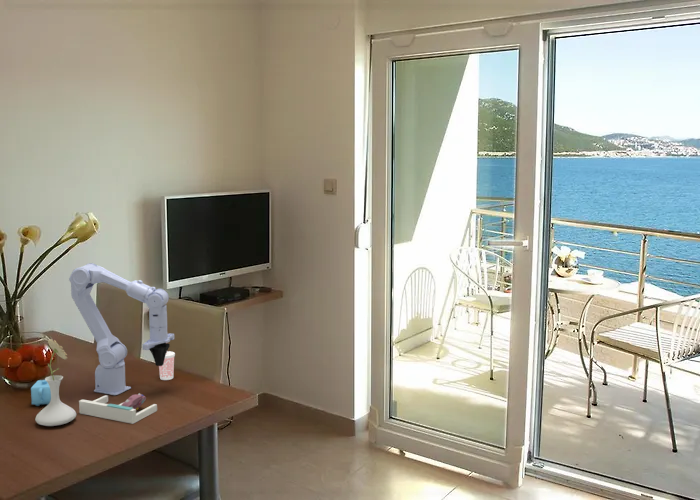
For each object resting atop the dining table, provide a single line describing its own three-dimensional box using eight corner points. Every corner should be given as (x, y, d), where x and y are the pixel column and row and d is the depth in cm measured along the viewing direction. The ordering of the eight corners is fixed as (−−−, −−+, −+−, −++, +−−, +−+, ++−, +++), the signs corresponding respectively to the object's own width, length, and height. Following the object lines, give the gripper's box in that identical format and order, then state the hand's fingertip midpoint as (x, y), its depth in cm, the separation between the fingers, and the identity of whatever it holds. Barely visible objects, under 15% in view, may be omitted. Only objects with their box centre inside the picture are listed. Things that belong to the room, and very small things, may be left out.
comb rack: (79, 413, 215) (78, 400, 214) (105, 401, 225) (104, 388, 225) (132, 423, 207) (132, 410, 207) (157, 410, 218) (156, 397, 217)
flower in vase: (78, 425, 205) (74, 344, 202) (36, 432, 200) (31, 348, 197) (74, 410, 217) (70, 333, 213) (34, 416, 212) (30, 337, 208)
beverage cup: (154, 380, 246) (153, 341, 244) (162, 374, 252) (161, 337, 250) (171, 381, 245) (170, 343, 243) (178, 375, 251) (177, 338, 249)
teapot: (42, 395, 230) (40, 373, 229) (61, 395, 231) (60, 373, 230) (30, 409, 218) (29, 386, 217) (50, 408, 219) (49, 385, 218)
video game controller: (123, 423, 212) (131, 405, 210) (111, 415, 213) (119, 396, 211) (142, 412, 221) (150, 394, 219) (132, 404, 222) (139, 386, 220)
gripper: (154, 332, 223) (155, 373, 225) (181, 322, 236) (182, 360, 238) (136, 330, 225) (138, 370, 227) (164, 320, 239) (165, 358, 241)
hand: (159, 365), depth 233 cm, fingers closed
